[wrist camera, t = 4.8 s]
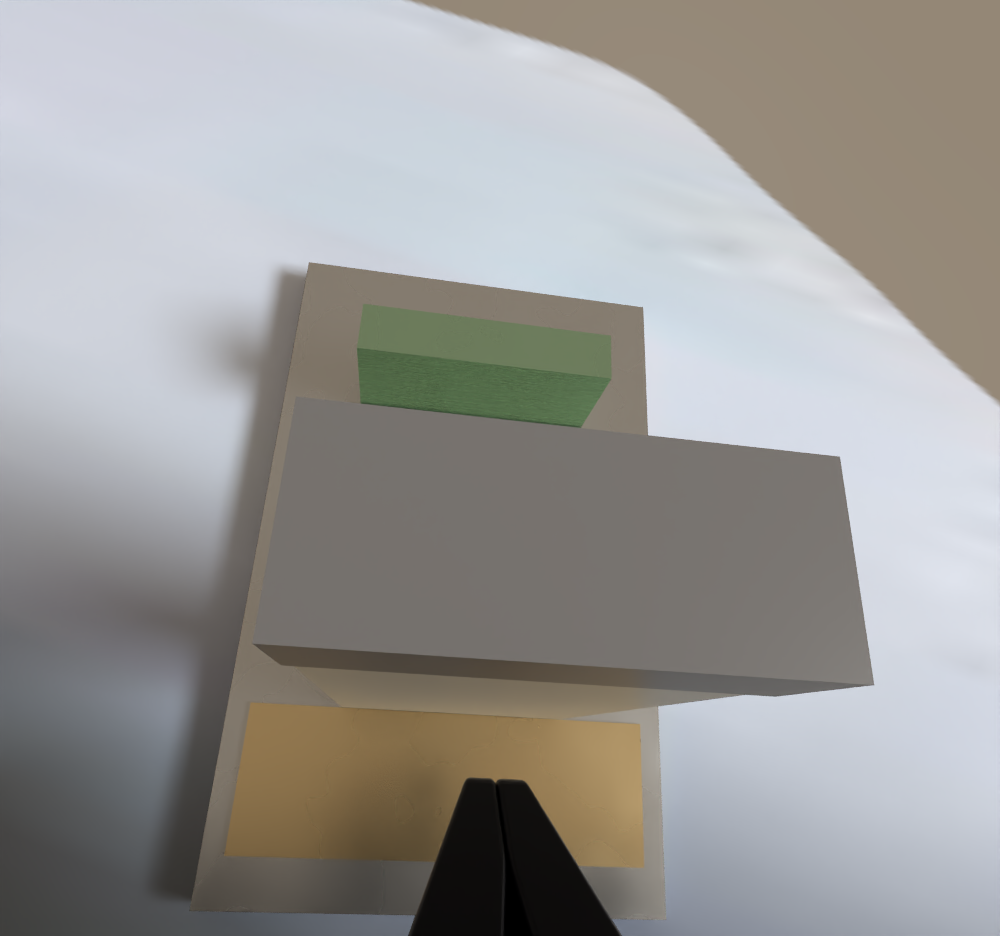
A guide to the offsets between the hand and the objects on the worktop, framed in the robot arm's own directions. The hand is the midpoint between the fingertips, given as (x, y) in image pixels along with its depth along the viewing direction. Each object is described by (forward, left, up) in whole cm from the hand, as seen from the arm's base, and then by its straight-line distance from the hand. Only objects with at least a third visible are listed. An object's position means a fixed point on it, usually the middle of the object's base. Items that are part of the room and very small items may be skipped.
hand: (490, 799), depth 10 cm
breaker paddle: (+1, +2, -6) cm, 7 cm away
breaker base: (+3, +4, -7) cm, 9 cm away
